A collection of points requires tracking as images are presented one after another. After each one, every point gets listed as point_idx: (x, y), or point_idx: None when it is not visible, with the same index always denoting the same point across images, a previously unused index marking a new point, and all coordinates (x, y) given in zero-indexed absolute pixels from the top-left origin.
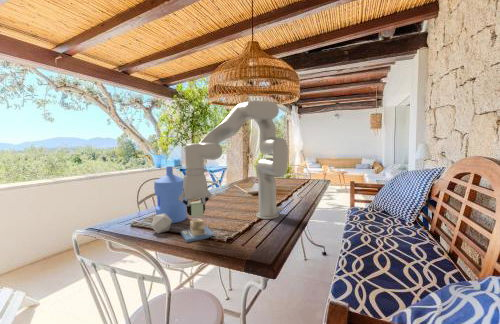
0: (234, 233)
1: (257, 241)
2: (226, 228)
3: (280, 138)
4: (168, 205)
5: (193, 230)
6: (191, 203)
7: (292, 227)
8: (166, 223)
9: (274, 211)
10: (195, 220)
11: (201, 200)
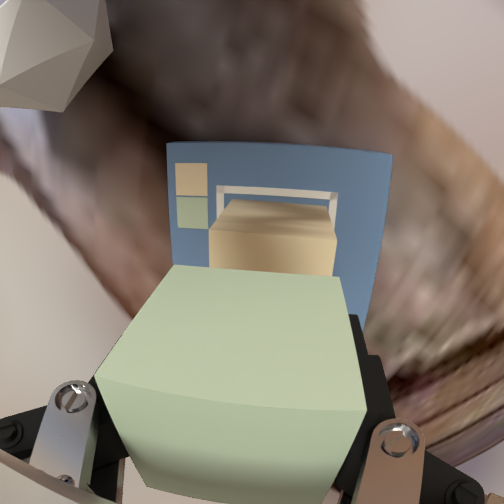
0: (466, 332)
1: (455, 426)
2: (488, 239)
3: None
4: None
5: None
6: (147, 444)
7: None
8: (51, 93)
9: None
10: (264, 257)
11: (362, 481)
